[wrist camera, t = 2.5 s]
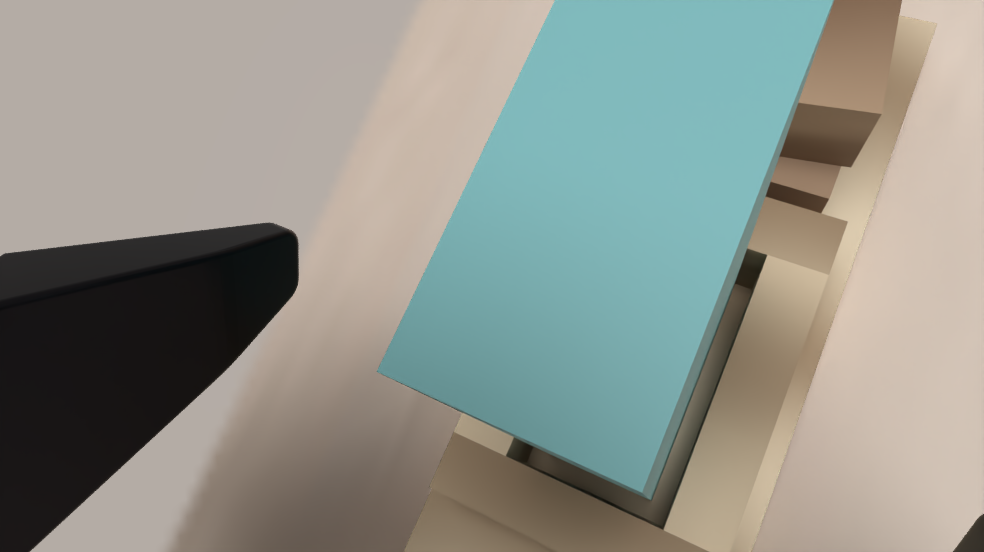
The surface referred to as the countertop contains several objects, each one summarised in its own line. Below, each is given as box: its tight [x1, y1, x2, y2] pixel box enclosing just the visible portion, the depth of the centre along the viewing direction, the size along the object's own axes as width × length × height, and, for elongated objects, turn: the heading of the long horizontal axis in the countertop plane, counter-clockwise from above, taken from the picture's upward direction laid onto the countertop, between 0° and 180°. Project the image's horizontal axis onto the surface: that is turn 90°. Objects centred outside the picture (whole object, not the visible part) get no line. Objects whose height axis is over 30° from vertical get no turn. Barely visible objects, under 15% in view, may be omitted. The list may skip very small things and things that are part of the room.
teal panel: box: [377, 0, 834, 501], centre depth 12 cm, size 5×2×11 cm, turn 155°
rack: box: [404, 16, 937, 552], centre depth 16 cm, size 18×7×4 cm, turn 155°
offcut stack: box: [765, 0, 902, 213], centre depth 16 cm, size 5×5×4 cm
